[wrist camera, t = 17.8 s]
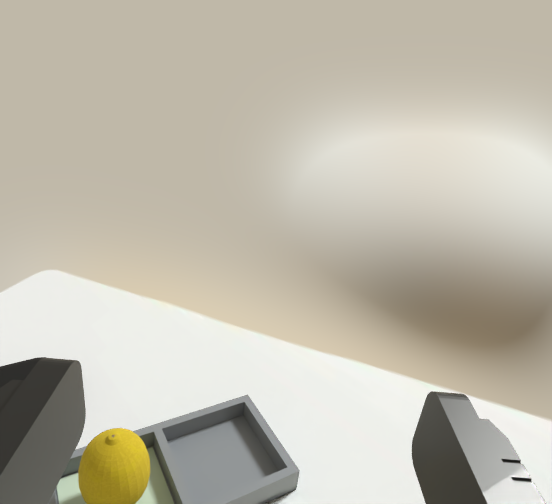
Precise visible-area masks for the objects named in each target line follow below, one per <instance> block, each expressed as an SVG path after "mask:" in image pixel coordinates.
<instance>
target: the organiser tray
mask: <svg viewBox="0 0 552 504" xmlns="http://www.w3.org/2000/svg"><path fill="white" fill-rule="evenodd" d="M133 432H134V433H135V434H137V435H138V436H139V437H140V438H141V439H142V441H143V442H144V444H145V446H146V449H147V451H148V454H149V458H150V477H149V481H148V484H147V487H146V489H145V491H144V493H143V495H142V497H141V498H140V499H139V500H138V501H137V502H136V504H265V503H268V502H270V501H272V500H274V499H276V498H278V497H280V496H283V495H285V494H287V493H289V492H291V491H293V490H295V489H296V487H297V482H298V476H299V469H298V468H297V466H296V465H295V463H294V462H293V460H292V459H291V458H290V456H289V455H288V453H287V452H286V450H285V449H284V447H283V446H282V444H281V443H280V441H279V440H278V438H277V437H276V436H275V434H274V433H273V431H272V430H271V428H270V427H269V425H268V424H267V422H266V421H265V419H264V418H263V416H262V415H261V414H260V412H259V411H258V409H257V408H256V406H255V405H254V403H253V402H252V400H251V399H250V397H249V396H248V395H245V396H242V397H239V398H236V399H233V400H230V401H226V402H223V403H220V404H217V405H214V406H211V407H208V408H205V409H202V410H198V411H195V412H192V413H189V414H186V415H183V416H180V417H177V418H173V419H170V420H167V421H164V422H161V423H158V424H155V425H152V426H149V427H145V428H142V429H139V430H136V431H133ZM86 447H87V446H86ZM86 447H83V448H80V449H77V450H74V452H73V454H72V456H71V458H70V460H69V462H68V464H67V466H66V468H65V470H64V472H63V474H62V476H61V479H60V481H59V483H58V485H57V487H56V489H55V491H54V493H53V495H52V497H51V499H50V501H49V503H48V504H87V503H86V502H85V501H84V499H83V497H82V494H81V492H80V489H79V481H78V470H79V465H80V461H81V458H82V455H83V452H84V451H85V449H86Z"/></svg>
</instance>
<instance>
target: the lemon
mask: <svg viewBox="0 0 552 504" xmlns="http://www.w3.org/2000/svg"><path fill="white" fill-rule="evenodd" d="M149 477H150V458H149V454H148V451H147V449H146V446H145V444H144V442H143V441H142V439H141V438H140V437H139V436H138V435H137V434H135V433H134V432H132V431H130V430H127V429H122V428H115V429H110V430H106V431H104V432H102V433H100V434H99V435H98V436H96V437H95V438H94V439H93V440H92V441H91V442H90V443H89V444H88V445H87V447H86V449H85V451H84V452H83V455H82V458H81V461H80V465H79V470H78V481H79V489H80V492H81V494H82V497H83V499H84V501H85V502H86V503H87V504H136V502H137V501H138V500H139V499H140V498H141V497H142V495H143V493H144V491H145V489H146V487H147V484H148V481H149Z"/></svg>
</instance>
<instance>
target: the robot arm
mask: <svg viewBox="0 0 552 504" xmlns="http://www.w3.org/2000/svg"><path fill="white" fill-rule="evenodd" d="M84 423H85V401H84V390H83V380H82V370H81V365H80V362H79V361H76V360H65V359H53V358H42V359H40V360H39V361H38V362H37V364H36V365H35V366H34V368H33V369H32V370H31V372H30V373H29V374H28V376H27V377H26V378H25V380H11V381H10V382H8V383H7V384H5V385H4V386H2V387H1V388H0V504H48V503H49V501H50V499H51V497H52V495H53V493H54V491H55V489H56V487H57V485H58V483H59V481H60V479H61V476H62V474H63V472H64V470H65V468H66V466H67V464H68V462H69V460H70V458H71V456H72V454H73V452H74V450H75V448H76V446H77V444H78V442H79V440H80V437H81V435H82V432H83V428H84ZM412 459H413V465H414V469H415V472H416V475H417V478H418V481H419V484H420V487H421V490H422V493H423V496H424V499H425V502H426V504H546V502H545V501H544V499H543V497H542V496H541V494H540V492H539V491H538V489H537V487H536V485H535V484H534V483H532V482H531V477H530V475H529V474H528V472H527V470H526V468H525V467H524V465H523V464H521V463H520V461H521V460H520V458H519V457H518V455H517V453H516V451H515V450H514V448H513V446H512V445H511V443H510V441H509V440H508V438H507V437H506V436H505V435H504V434H503V433H502V432H501V431H500V430H499V429H498V428H496V427H495V426H494V425H493V424H492V423H491V422H490V421H489V420H488V419H479V417H478V415H477V413H476V411H475V410H474V408H473V406H472V404H471V402H470V400H469V399H468V397H467V396H466V395H464V394H456V393H444V392H430V393H429V394H428V395H427V398H426V400H425V403H424V406H423V409H422V413H421V416H420V419H419V422H418V425H417V428H416V431H415V434H414V437H413V442H412Z"/></svg>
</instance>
